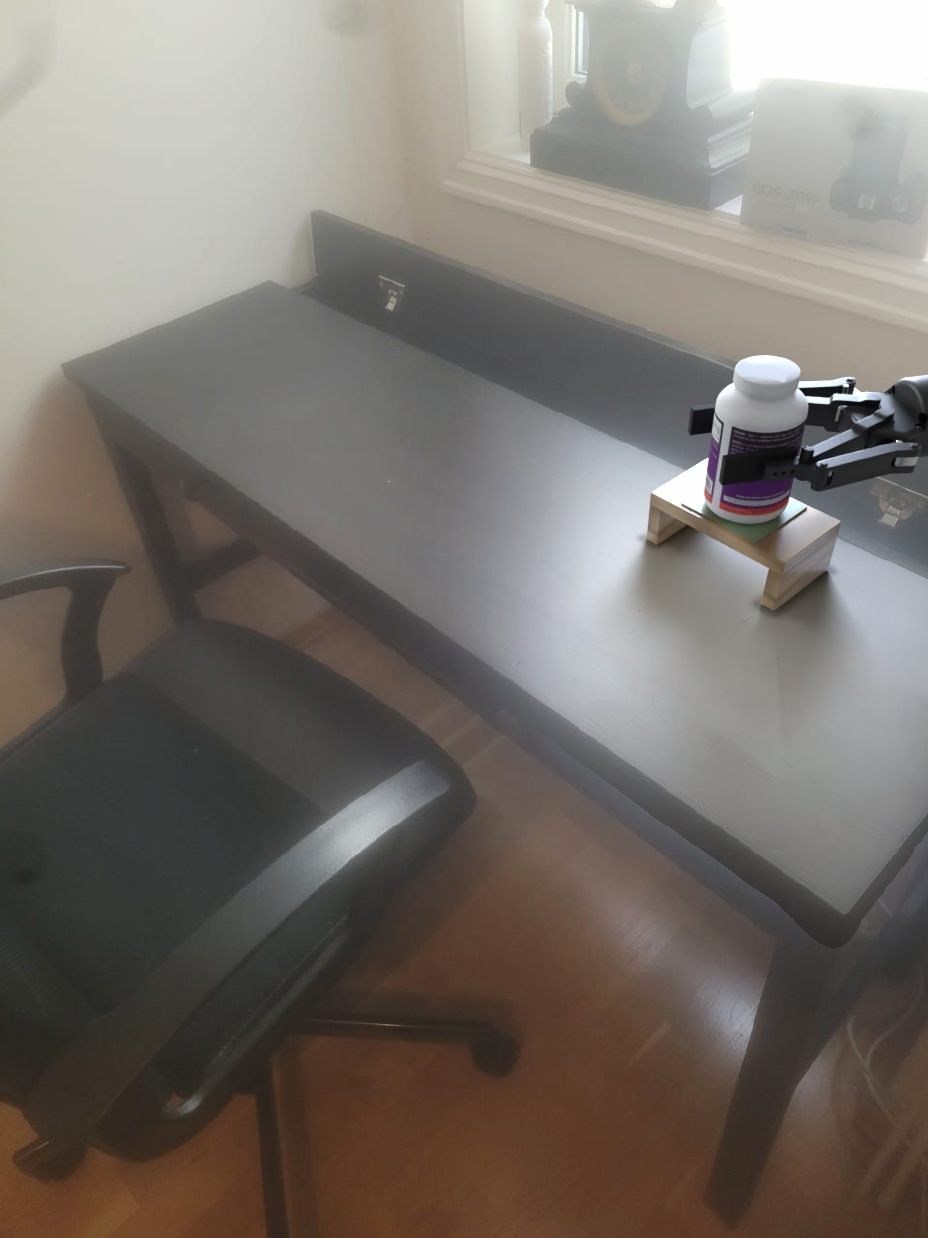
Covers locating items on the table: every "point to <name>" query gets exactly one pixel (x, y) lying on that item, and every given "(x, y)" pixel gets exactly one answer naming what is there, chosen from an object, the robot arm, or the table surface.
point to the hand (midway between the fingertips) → (706, 444)
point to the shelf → (750, 534)
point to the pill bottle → (755, 435)
